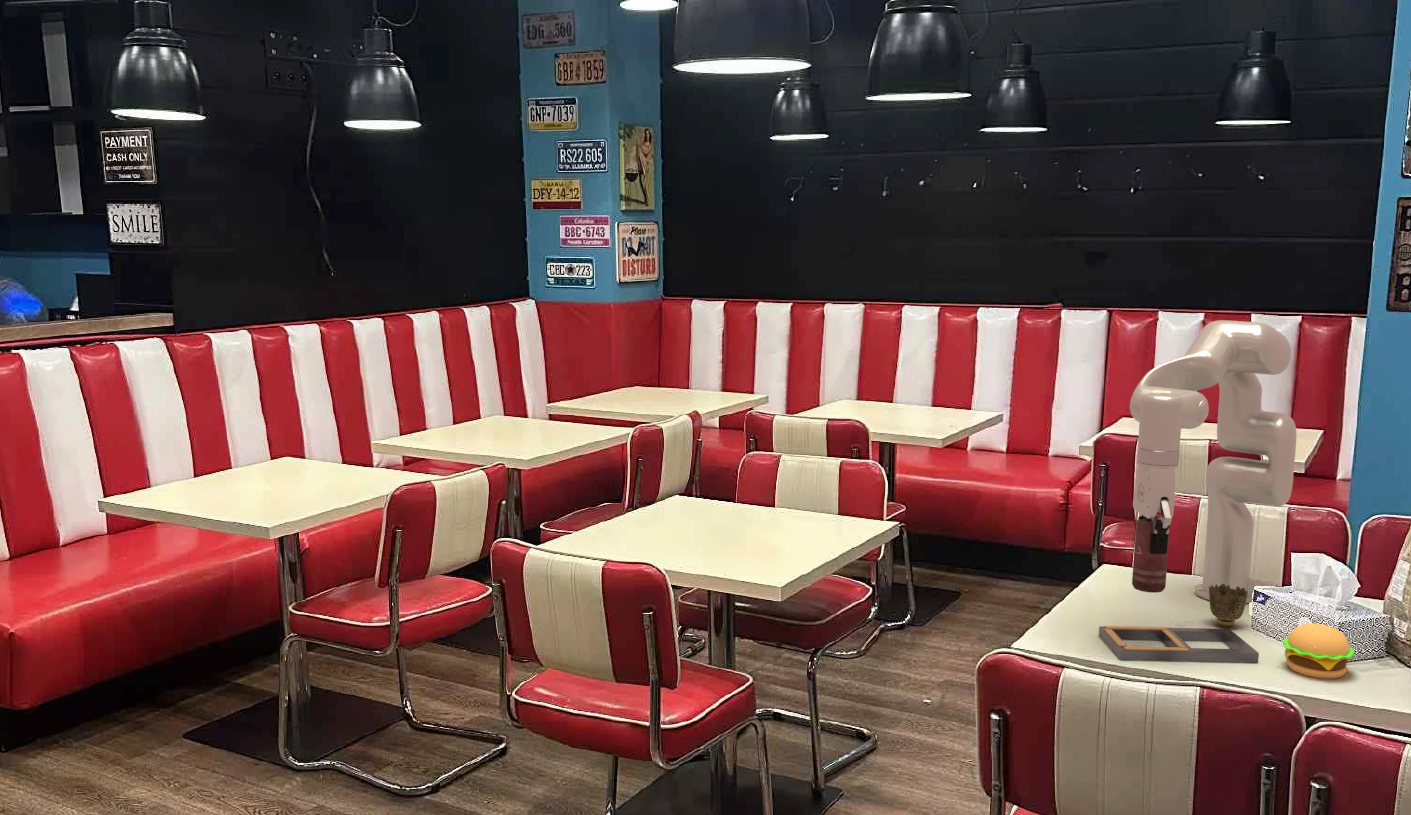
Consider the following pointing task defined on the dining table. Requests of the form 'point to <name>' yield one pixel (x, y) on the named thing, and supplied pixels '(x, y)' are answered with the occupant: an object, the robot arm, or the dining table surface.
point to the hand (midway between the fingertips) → (1151, 548)
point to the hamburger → (1317, 651)
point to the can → (1148, 560)
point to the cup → (1227, 604)
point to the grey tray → (1177, 644)
